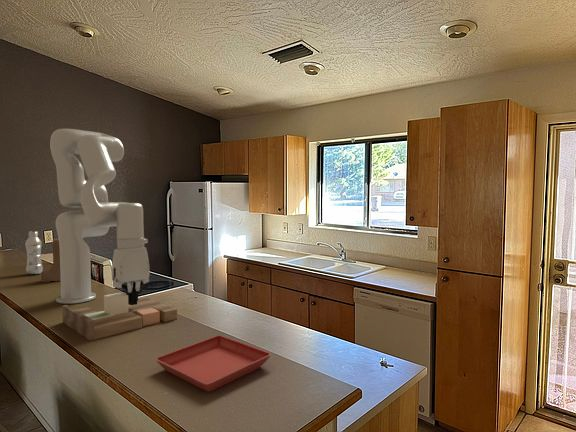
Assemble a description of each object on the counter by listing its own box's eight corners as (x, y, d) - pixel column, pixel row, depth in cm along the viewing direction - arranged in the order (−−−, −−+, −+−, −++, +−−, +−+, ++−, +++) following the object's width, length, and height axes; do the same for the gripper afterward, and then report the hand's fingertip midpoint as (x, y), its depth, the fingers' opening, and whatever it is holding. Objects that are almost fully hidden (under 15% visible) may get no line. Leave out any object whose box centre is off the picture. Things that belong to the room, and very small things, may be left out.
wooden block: (41, 282, 169) (40, 240, 168) (42, 280, 173) (41, 239, 172) (65, 280, 173) (64, 239, 172) (66, 278, 177) (65, 238, 176)
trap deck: (62, 322, 117) (62, 305, 117) (144, 305, 135) (144, 290, 135) (89, 340, 103) (89, 321, 102) (177, 318, 121) (176, 302, 120)
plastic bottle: (37, 275, 184) (36, 232, 183) (22, 275, 184) (21, 232, 183) (46, 272, 190) (44, 231, 189) (32, 272, 190) (30, 231, 189)
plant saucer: (206, 400, 74) (206, 383, 74) (153, 372, 85) (153, 357, 85) (272, 368, 88) (272, 353, 87) (219, 347, 99) (219, 334, 99)
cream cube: (104, 312, 117) (103, 295, 117) (121, 308, 121) (120, 292, 121) (111, 315, 114) (110, 298, 113) (128, 312, 117) (128, 295, 117)
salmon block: (136, 322, 118) (136, 310, 118) (153, 319, 121) (152, 307, 121) (142, 326, 114) (142, 314, 114) (159, 323, 118) (159, 311, 117)
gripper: (148, 241, 128) (149, 297, 129) (100, 245, 117) (102, 306, 118) (159, 242, 123) (161, 301, 124) (111, 247, 112) (112, 311, 113)
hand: (132, 304), depth 121 cm, fingers closed
